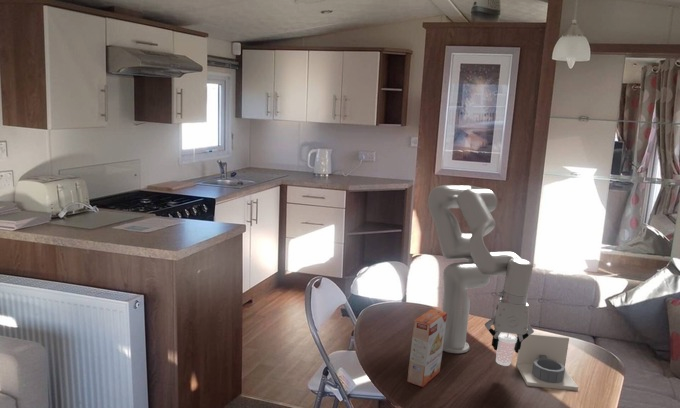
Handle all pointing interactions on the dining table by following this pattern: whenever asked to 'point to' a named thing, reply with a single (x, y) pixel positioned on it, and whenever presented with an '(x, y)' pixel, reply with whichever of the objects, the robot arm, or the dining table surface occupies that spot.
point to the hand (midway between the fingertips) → (505, 349)
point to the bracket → (545, 362)
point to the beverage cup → (505, 348)
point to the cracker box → (426, 347)
